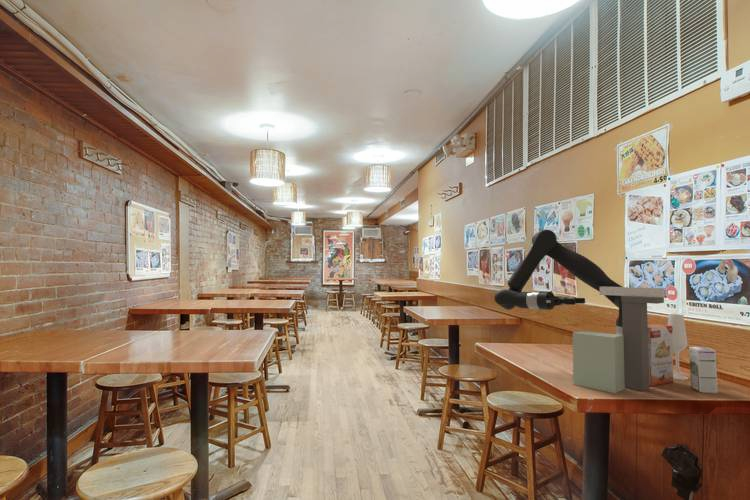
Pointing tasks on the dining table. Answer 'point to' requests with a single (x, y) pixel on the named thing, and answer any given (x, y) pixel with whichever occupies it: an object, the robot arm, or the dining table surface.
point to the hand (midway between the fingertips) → (579, 301)
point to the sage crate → (598, 361)
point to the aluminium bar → (633, 291)
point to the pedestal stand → (636, 340)
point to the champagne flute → (678, 340)
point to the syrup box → (703, 369)
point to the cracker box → (660, 354)
